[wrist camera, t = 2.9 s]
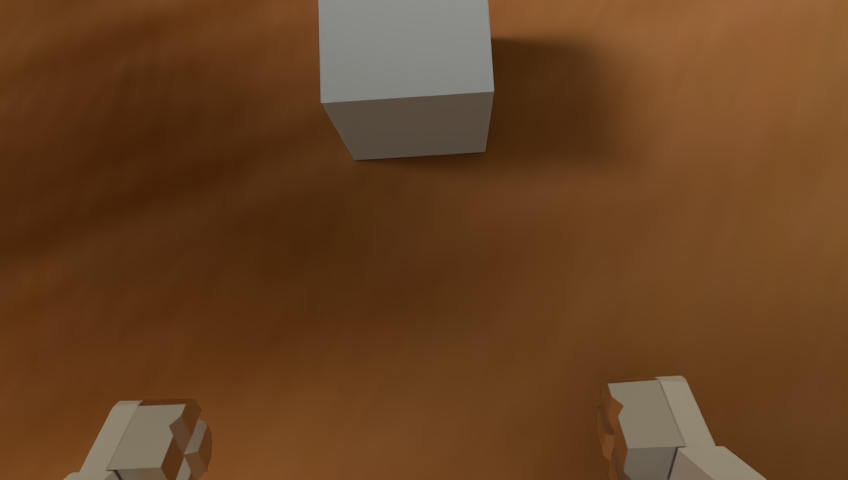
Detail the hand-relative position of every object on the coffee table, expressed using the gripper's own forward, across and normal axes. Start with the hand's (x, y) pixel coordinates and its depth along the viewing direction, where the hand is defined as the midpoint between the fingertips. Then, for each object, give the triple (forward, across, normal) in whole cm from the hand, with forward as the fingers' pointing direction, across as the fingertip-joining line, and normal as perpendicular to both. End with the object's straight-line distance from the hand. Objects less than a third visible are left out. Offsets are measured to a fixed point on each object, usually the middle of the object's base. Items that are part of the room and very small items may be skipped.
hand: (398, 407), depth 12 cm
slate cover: (+19, 0, +1) cm, 19 cm away
